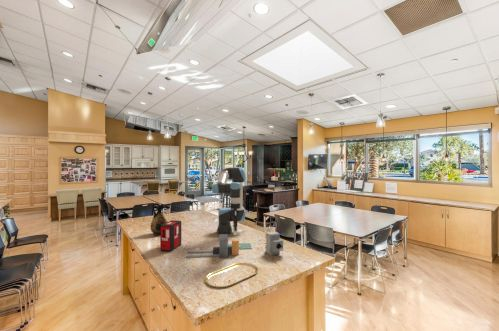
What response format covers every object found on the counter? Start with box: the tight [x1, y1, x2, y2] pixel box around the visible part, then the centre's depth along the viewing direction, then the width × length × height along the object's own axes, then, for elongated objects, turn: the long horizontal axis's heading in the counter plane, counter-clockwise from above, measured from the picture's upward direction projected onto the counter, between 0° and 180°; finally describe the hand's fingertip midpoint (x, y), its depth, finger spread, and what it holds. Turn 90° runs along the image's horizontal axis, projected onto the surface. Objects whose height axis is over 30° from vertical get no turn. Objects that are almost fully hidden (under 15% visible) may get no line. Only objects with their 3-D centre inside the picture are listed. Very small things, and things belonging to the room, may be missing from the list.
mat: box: [228, 242, 253, 250], centre depth 186 cm, size 12×20×1 cm, turn 96°
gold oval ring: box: [204, 262, 259, 289], centre depth 138 cm, size 19×35×2 cm, turn 133°
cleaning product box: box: [159, 220, 182, 253], centre depth 183 cm, size 16×9×20 cm, turn 170°
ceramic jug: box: [149, 202, 168, 236], centre depth 219 cm, size 17×15×30 cm
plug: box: [212, 238, 241, 256], centre depth 171 cm, size 5×20×10 cm, turn 95°
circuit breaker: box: [264, 230, 284, 256], centre depth 171 cm, size 8×14×15 cm, turn 27°
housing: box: [185, 234, 229, 259], centre depth 170 cm, size 15×30×12 cm, turn 96°
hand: (235, 233), depth 172 cm, fingers open, 7 cm apart
